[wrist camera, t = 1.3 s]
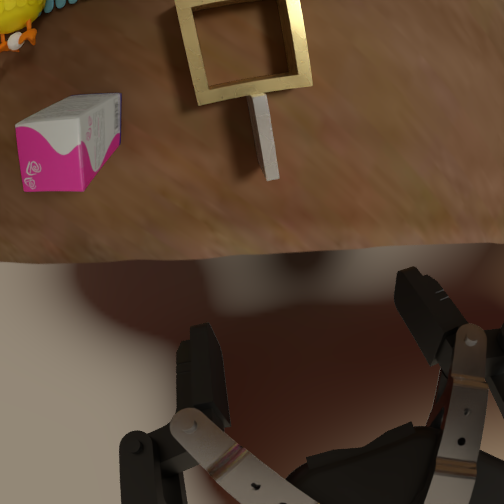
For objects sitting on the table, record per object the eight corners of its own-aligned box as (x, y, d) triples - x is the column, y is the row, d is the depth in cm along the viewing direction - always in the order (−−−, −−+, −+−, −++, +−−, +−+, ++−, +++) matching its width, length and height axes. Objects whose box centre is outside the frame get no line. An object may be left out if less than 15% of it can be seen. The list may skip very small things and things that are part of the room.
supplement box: (69, 95, 26) (13, 122, 16) (122, 91, 27) (83, 115, 18) (70, 147, 29) (21, 194, 20) (121, 146, 30) (88, 193, 21)
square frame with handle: (163, -61, 18) (157, -78, 14) (272, -76, 18) (283, -94, 14) (215, 171, 33) (218, 191, 29) (310, 152, 34) (326, 169, 29)
